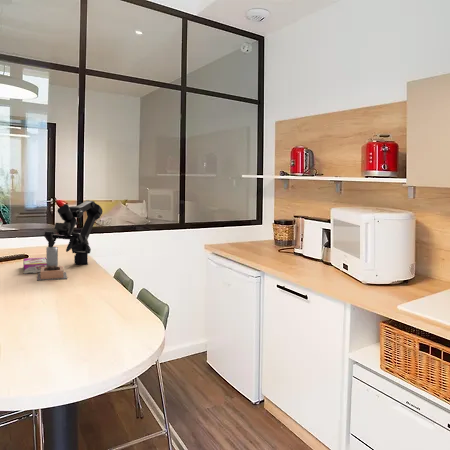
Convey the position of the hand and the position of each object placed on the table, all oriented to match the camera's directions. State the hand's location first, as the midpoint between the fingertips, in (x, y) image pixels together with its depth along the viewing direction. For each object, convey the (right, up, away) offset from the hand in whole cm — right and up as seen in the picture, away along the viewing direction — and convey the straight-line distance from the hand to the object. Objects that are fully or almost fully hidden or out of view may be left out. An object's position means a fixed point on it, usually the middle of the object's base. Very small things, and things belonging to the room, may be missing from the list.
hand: (57, 250), depth 197 cm
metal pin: (-1, -12, -4) cm, 13 cm away
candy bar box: (-19, -7, +16) cm, 26 cm away
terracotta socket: (-1, -12, -4) cm, 13 cm away
